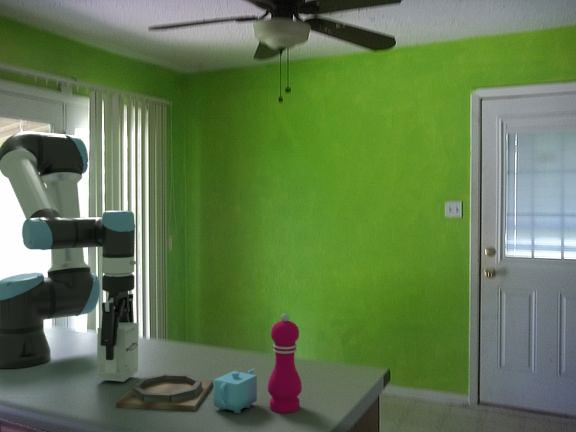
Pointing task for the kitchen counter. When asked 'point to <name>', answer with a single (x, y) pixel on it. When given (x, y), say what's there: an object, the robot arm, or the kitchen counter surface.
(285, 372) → the pepper mill
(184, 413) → the kitchen counter surface
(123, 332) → the supplement box
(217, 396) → the teapot
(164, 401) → the collar plate
